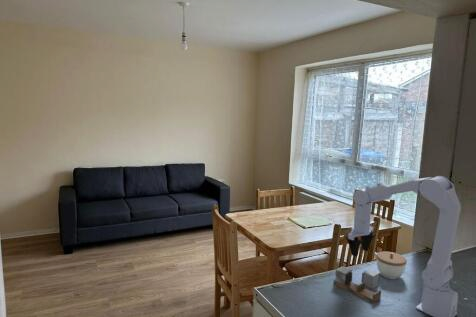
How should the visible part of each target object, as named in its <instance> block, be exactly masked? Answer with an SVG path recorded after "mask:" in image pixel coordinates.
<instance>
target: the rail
mask: <svg viewBox="0 0 476 317" xmlns="http://www.w3.org/2000/svg"><path fill="white" fill-rule="evenodd" d="M333 284H334V285H336V286H338V287H340V288H342V289H344V290H346V291H348V292H349V293H352V294H354V295H356V296H358V297H360V298H362V299H365V301H368V302H370V303H372V304H375V303H377V302H378V301H380V300H381V298H382V297H381V296H382V289H379V290H377V291H376V292H374V291H372V290H370V289H367V288H366V286H365V283H363V282H361V283H360V284H357V283H355V282H353V271H352V270H351V269H349V268H346V267H345V266H340V267H338V268H337V269H335V279H334V280H333Z"/></svg>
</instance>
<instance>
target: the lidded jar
mask: <svg viewBox="0 0 476 317" xmlns="http://www.w3.org/2000/svg"><path fill="white" fill-rule="evenodd" d="M407 263H408V262H407V258H406V257H405V256H404V255H402V254H399V253H397V252H393V251H387V250H386V251H385V250H384V251H379V252H377V254H376V268H377V270H378V272H379V274H381V276H382V277H384V278H386V279H390V280H397V279H399V278H400V277H402V275H403V274H404V273H405V270H406V267H407Z"/></svg>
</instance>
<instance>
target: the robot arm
mask: <svg viewBox="0 0 476 317" xmlns="http://www.w3.org/2000/svg"><path fill="white" fill-rule="evenodd" d="M409 192H413V193H415V194H417V195H421V196H422V197H423V198H425V199H426V200H427V201H429V202H431V203H432V204H434V205H435V206H436V207H437V208H438V210H439V213H438V214H439V215H438V221H437V225H436V229H435V230H436V231H435V234H434V240H433V247H432V250H431V256H430V258H429V260H428V261H427V263H426V268H425V269H423V271H422V272H421V280H422V282H423V284H422V292H421V293H422V294H421V295H422V296H421V302H420V303H419V304H418V305H416V306H415V309H416V310H418V311H421V312H422V313H424V314H426V315H429V316H431V317H456V315H457V313H458V311H457V310H458V302H459V301H458V300H459V293H458V292H456V291H455V290H453V289H452V288H451V286H450V282H449V281H450V280H452V279H453V277H454V270H453V267H452V266H453V261H452V260H451V258H452V252H453V249H454V244H455V239H456V234H457V228H458V224H459V219H460V214H461V210H462V206H461V202H460V199H459V197H458V195H457V192H456V189H455V185H454V183H452V181H451V180H449V179H448V177H445V176H442V175H437V176H434V177H432V176H430V177H423V178H422V177H420V178H415V179H411V180H408V181H405V182H401V183H397V184H392V185H389V184H387V183H383V182H378V183H376V185H372V186H369V185H368V186H365V188H360V189H357V190H355V191H354V192H353V194H352V199H353V202H354V218H353V219H354V220H353V226H352V227H350V230H351V232H349V233H348V235H347V236H346V242H347V243H348V245H349V249H350V254H351V256H353V257H355V258H356V257H358V255H359V250H360V247H361V250H363V251H365V252H369V249H370V246H371V243H372V241H373V240H374V238H375V237H376V234H375V233H373V232H374V226H371V215H372V205H373V203H376V202H381V201H385V200H390V199H391V198H392V196H393V195H397V194H402V193H403V194H404V193H409ZM359 237H360V238H361V240H360V239H359Z"/></svg>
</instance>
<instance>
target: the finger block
mask: <svg viewBox="0 0 476 317" xmlns="http://www.w3.org/2000/svg"><path fill="white" fill-rule="evenodd" d="M361 274H362V275H361V283H365V287H368V288H369V289H372V290H373V289H375V288H376V287H378V286H379V278H380V272H379V271H378V272H377V271H374V270H373V269H370V268H368V269H366V270H364V271H363V272H362V273H361Z"/></svg>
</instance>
